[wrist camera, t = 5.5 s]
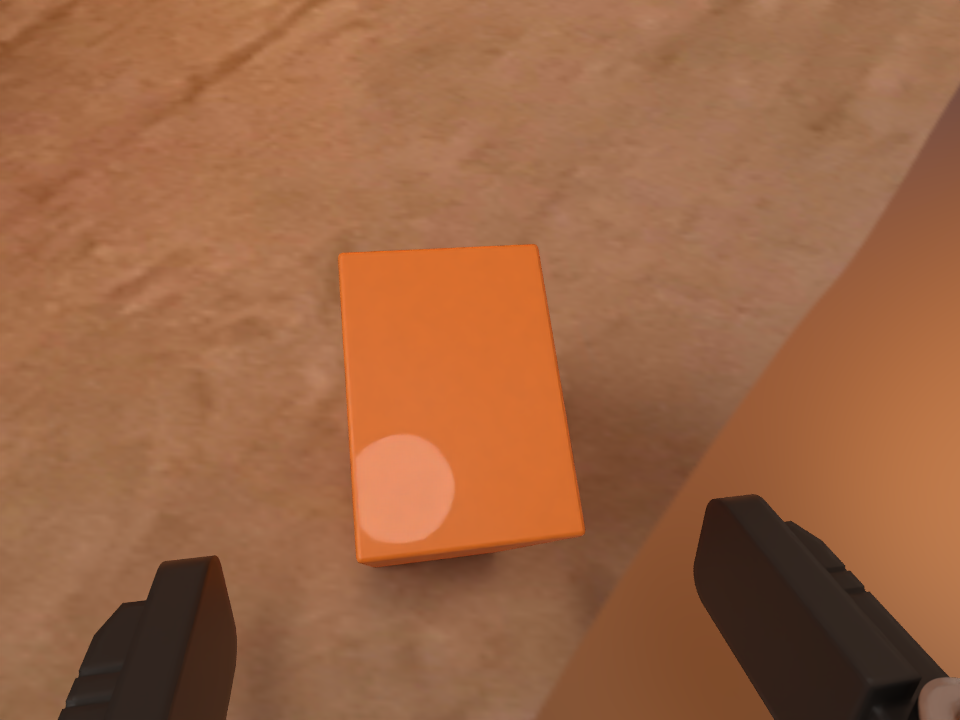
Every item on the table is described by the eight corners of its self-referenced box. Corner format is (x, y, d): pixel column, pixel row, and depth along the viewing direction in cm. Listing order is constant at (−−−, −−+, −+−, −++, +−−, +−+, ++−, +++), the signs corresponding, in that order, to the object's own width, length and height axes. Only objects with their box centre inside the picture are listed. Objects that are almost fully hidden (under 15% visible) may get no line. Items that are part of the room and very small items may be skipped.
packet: (496, 552, 18) (588, 535, 10) (371, 568, 18) (355, 564, 9) (475, 381, 20) (538, 242, 12) (359, 390, 19) (337, 250, 11)
